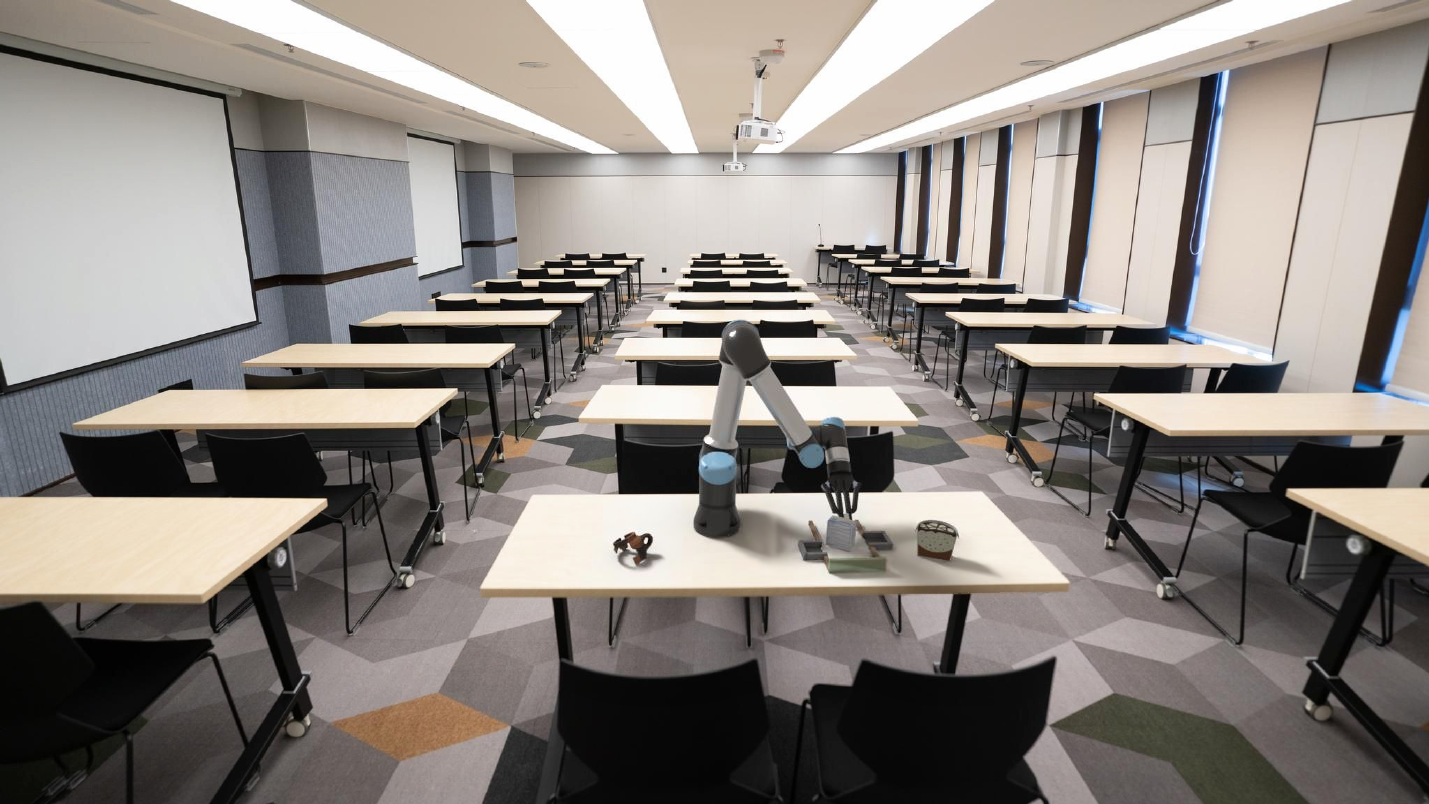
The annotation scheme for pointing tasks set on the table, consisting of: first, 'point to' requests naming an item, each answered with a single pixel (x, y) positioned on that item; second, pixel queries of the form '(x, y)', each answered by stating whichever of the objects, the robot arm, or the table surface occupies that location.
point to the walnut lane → (852, 564)
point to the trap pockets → (814, 552)
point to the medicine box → (841, 533)
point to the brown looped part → (635, 545)
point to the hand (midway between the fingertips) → (847, 535)
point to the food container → (936, 539)
